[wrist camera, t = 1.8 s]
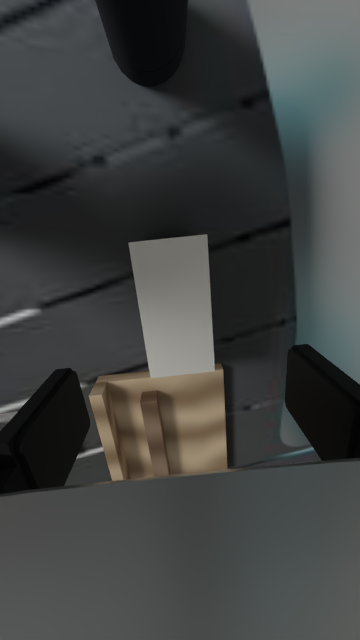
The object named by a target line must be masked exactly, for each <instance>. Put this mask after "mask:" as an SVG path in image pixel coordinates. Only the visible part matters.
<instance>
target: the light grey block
mask: <svg viewBox="0 0 360 640" xmlns="http://www.w3.org/2000/svg"><path fill="white" fill-rule="evenodd" d="M128 244H129V250H130V256H131V262H132V268H133V274H134V280H135V286H136V292H137V298H138V304H139V311H140V317H141V323H142V329H143V335H144V341H145V347H146V353H147V359H148V365H149V371H150V377H151V378H157V377H166V376H176V375H185V374H195V373H204V372H213V371H215V364H214V346H213V328H212V310H211V292H210V274H209V256H208V238H207V234H206V235H195V236H185V237H176V238H166V239H157V240H147V241H138V242H130V243H128Z"/></svg>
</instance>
